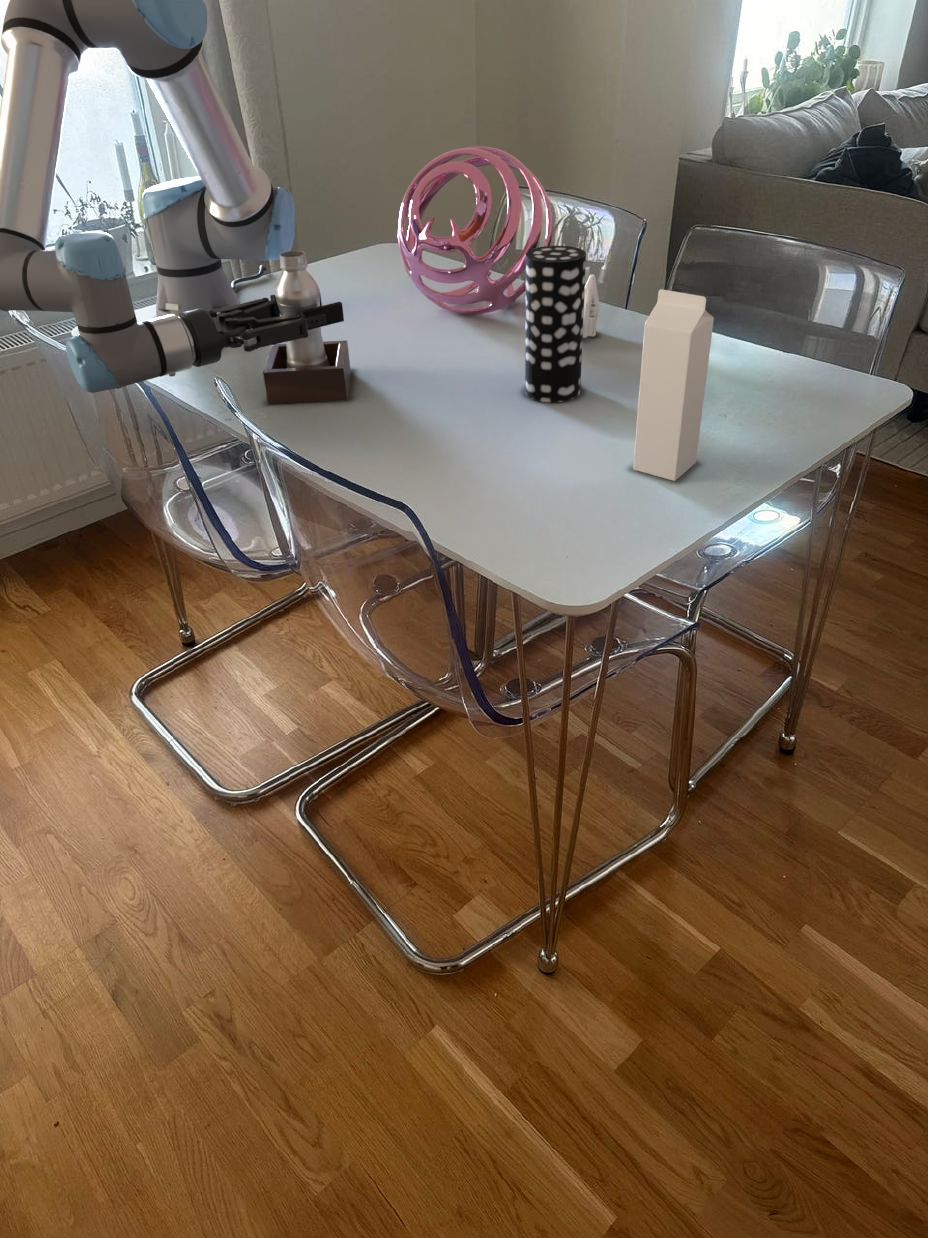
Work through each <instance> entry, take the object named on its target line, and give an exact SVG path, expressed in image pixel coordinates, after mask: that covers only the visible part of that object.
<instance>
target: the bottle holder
mask: <svg viewBox="0 0 928 1238" xmlns="http://www.w3.org/2000/svg"><path fill="white" fill-rule="evenodd" d="M323 344H324V348H325V353H326V356H327V358H328V361H329V365H330V366H324V367H305V368H287V346H286V343H279V344H274V345H270V350H269V353H268V356H267V359H266V361H265V365H264V368H263V371H262V376H263V382H264V388H265V393H266V399H267V404H268V405H283V404H299V403H300V404H301V403H318V402H320V403H322V402H336V401H339V402H340V401H347V400H348V396H349V388H350V379H351V361H350V353H349V344H348V340H345V339H344V340H330V341H329V340H327V341H323Z"/></svg>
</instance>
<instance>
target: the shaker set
mask: <svg viewBox="0 0 928 1238" xmlns="http://www.w3.org/2000/svg"><path fill="white" fill-rule="evenodd" d="M599 307H600V298H599V291H598V285H597V279H596V275H595V274H593V273H591V274H590V275H589V277H588V279H587V280H586V282H585V292H584V316H583V339H585V338H587V337H592V338H593V337H595V336H597V334H596V331H597V324H598V323H597V322H598V315H599Z"/></svg>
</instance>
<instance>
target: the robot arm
mask: <svg viewBox="0 0 928 1238" xmlns="http://www.w3.org/2000/svg"><path fill="white" fill-rule="evenodd" d="M4 14H5V15H4V18H3V24H2V33H1V39H0V41H1V46H2V49H3V50H4V52H5V53H6V55H7V59H6V67H5V73H4V81H3V86H2V87H3V88H2V95H1V102H0V311H1V312H10V311H20V312H21V311H25V312H26V311H31V312H33V311H34V312H52V313H72V314H73V317H74V319H75V321H76V327H77V331H78V334H76V335H75V336H73V337H69V338H68V339H67V340H66V343H65V350H66V353H67V354H66V356H67V359H68V362H69V363H68V364H69V366H70V368H71V371H72V373H73V375H74V377H75V380H76V382H77V384H78V385H79V386H80V387H81V388H82V389H83V390H84V391H85V392H88V393H90V394H91V393H92V394H94V393H100V392H105V391H110V390H115V389H118V390H120V389H122V388H123V387H127V386H130V385H131V386H132V385H136V384H138V383H142V382H145V381H149V380H153V379H156V378H159V377H160V378H161V377H165V376H169V377H175V376H176V375H177V374H176V373H179V372H182V371H188V370H190V369H192V367H196V368H201V367H205V366H207V365H212V364H217V363H218V362H220V360H221V358H222V352H223V350H224V349H227V348H231V349H237V348H242V347H243V351H244V352H245V353H250V352H253V351H255V350H258V349H260V348H261V349H262V348H265V347H269V346H270V347H271V346H272V345H274V344H284V343H286V342H287V341H292V340H296V339H301V338H307V337H308V330H311V329H315V328H319V327H321V328H322V327H326V326H330V325H334V324H338V323H343V322H344V321H345V317H344V309H343V302H341V301H336V302H332V303H328V304H324V305H322V304H323V303H322V297H321V294H320V306H319V307H315V308H311V309H307V310H303V311H300V314H297V315H289V316H282V317H281V314H280V311H279V307H278V304H277V300H276V297H275V294H270V297H262V298H257V299H255V300H251V301H247V302H243V303H240V301H239V298H238V295H237V294H236V292H235V290H236V285H237V284H240V283H243V282H248V281H254V280H258V279H260V278H261V277H262V276H263V275H264V272H265V271H267V269H266V267H265V266H264V265H263V264H261V265H259V272H258V273H256V274H254V275H253V274H252V275H250V276H249V275H248V276H244V277H239V278H236V279H234V280H233V281H232V282H231V283H230V281H229V278H228V277H227V275H226V273H225V270H224V268H223V263H222V260H234V261H235V260H238V261H263V262H269V261H280V254H281V253H283V252H286V251H292V248H293V244H294V240H295V234H296V231H295V230H296V209H295V202H294V199H293V196H292V193H291V191H290V190H289V189H288V188H285V187H282V186H278V187H274V186H273V184H272V182H271V180H270V178H269V176H268V175H267V173H266V172H265V171H264V170H263V169H262V168H260V167H258V166H256V165H254V164H253V162H252V159H251V158H250V156H249V154H248V152H247V149H246V147H245V145H244V143H243V140H242V138H241V137H240V135H239V132H238V130H237V128H236V125H235V123H234V121H233V119H232V117H231V115H230V113H229V111H228V108H227V107H226V104H225V101H224V100H223V98H222V96H221V94H220V91H219V89H218V87H217V85H216V82H215V80H214V78H213V76H212V73H211V72H210V70H209V68H208V66H207V63H206V62H205V59H204V57H203V54H202V50H203V48H204V44H205V36H206V34H207V30H208V8H207V3H205V1H204V0H9V2H8V4H7V7H6V10H5V13H4ZM89 50H116V51H117V52H119V54H120V55H121V57H122V59H123V61H124V63H125V65H126V66H127V68H128V69H129V71H130V72H131V73H132V74H133V75H135V76H137V77H138V78H141V79H143V80H147V82H148V84H149V86H150V88H151V90H152V91H153V93H154V95H155V98H156V99H157V101H158V103H159V105H160V106H161V108H162V110H163V112H164V113H165V115H166V117H167V119H168V121H169V122H170V123H169V124H171V126H172V128H173V130H174V132H175V134H176V136H177V137H178V139H179V141H180V143H181V145H182V147H183V148H184V150H185V152H186V154H187V155H188V158H189V159H190V161H191V163H192V165H193V167H194V168H195V170H196V172H197V174H198V176H190V177H184V178H183V177H182V178H179V179H173V180H170V181H166V182H162V183H159V184H156V185H153V186H150V187H149V188H147V189H145V190H144V192H143V193H142V196H141V203H142V210H143V219H144V222H145V226H146V230H147V233H148V238H149V242H150V246H151V251H152V254H153V259H154V263H155V268H156V271H157V276H158V277H157V278H158V279H157V291H156V303H155V313H156V317H155V318H151V319H147V320H143V321H140V322H139V321H138V319H137V316H136V312H135V309H134V303H133V299H132V295H131V290H130V287H129V283H128V278H127V268H126V266H125V264H124V262H123V259H122V256H121V253H120V250H119V247H118V244H117V243H118V242H117V241H116V240H115V237H114V236H112V235H111V234H109V233H107V232H104V231H97V230H87V231H83V232H81V231H79V232H72V233H68V234H65V235H63V236H61V237H58V238H57V239H56V240H55V243H54V249H55V250H52V249H49V250H48V249H47V250H46V247H47V240H48V233H49V228H50V227H49V226H50V221H51V219H50V218H51V211H52V205H53V198H54V190H55V184H56V176H57V169H58V162H59V156H60V148H61V141H62V134H63V127H64V119H65V113H66V106H67V100H68V99H67V98H68V91H69V85H70V79H72V78H73V77H75V76H76V75H77V74H78V73H79V71H80V66H81V59H82V57H83V55H84V54H85V53H86V52H88V51H89Z"/></svg>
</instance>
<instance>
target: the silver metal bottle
mask: <svg viewBox="0 0 928 1238" xmlns="http://www.w3.org/2000/svg"><path fill="white" fill-rule="evenodd" d="M308 265H309V264H308V262H307V255H306V252H305V251H303V250H291V251H286V252H283V253H281V254H280V260H279V268H280V270H282V273H281V274H280V276H279V277H278V279H277V282H276V284H275V287H274V295H275V297H276V300H277V304H278V307H279V311H280V317H282V316H289V315H297V314H300V311H303V310H307V309H311V308H315V307H319V306H320V295H321V291H320V290H321V289H320V287H319V285H318V283H317V281H316V280H315V278H314V277H313V276H312V274H310V273H309V271H308V270H307V268H308ZM323 342H324V340H323V335H322V327H319V328H315V329H311V330H308V337H307V338H301V339H296V340H292V341H287V342H285V344H286V346H287V368H305V367H324V366H330V365H329V361H328V358H327V356H326V353H325V348H324V344H323Z"/></svg>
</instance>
